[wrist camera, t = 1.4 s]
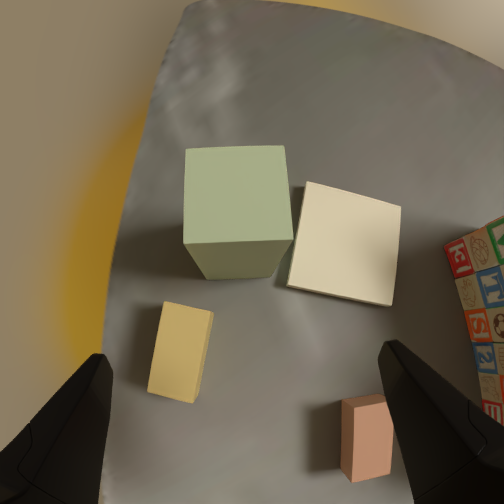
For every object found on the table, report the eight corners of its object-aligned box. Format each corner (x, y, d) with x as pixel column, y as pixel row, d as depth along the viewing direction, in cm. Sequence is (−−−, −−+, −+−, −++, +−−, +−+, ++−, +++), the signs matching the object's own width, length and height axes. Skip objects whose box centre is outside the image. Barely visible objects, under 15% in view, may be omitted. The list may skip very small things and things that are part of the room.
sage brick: (270, 277, 23) (293, 239, 13) (207, 280, 23) (183, 243, 13) (266, 217, 24) (283, 145, 14) (206, 219, 24) (185, 149, 14)
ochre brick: (198, 394, 21) (192, 403, 18) (158, 384, 21) (147, 391, 18) (214, 313, 22) (210, 311, 19) (173, 304, 22) (164, 300, 19)
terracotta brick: (374, 460, 20) (389, 473, 17) (339, 467, 20) (351, 482, 17) (377, 393, 21) (394, 400, 18) (340, 399, 21) (354, 407, 18)
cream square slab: (383, 307, 23) (391, 305, 22) (285, 287, 23) (287, 284, 22) (393, 213, 25) (401, 206, 24) (303, 189, 25) (306, 181, 24)
